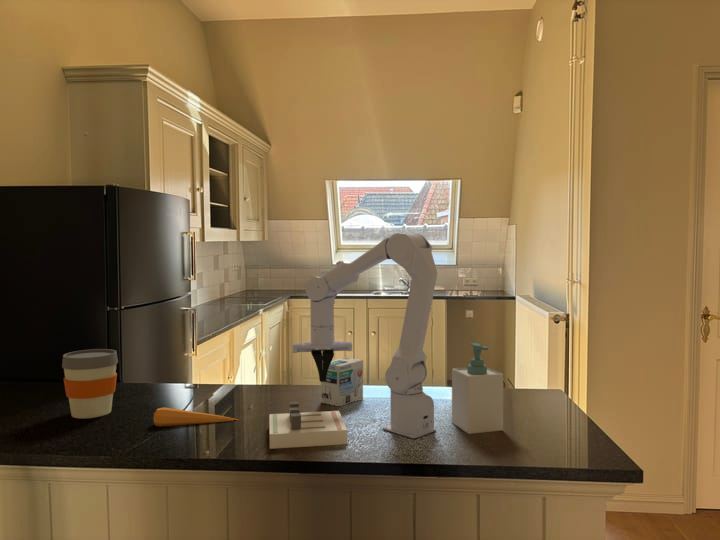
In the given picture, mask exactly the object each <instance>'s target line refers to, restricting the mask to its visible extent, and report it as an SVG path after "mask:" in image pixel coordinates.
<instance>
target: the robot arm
mask: <svg viewBox="0 0 720 540" xmlns="http://www.w3.org/2000/svg"><path fill="white" fill-rule="evenodd" d="M432 250H433V246H432V244H431V243H430V242H429V241H428V239H427V238H426V237H425V236H423V235H422V234H420V233H403V232H397V233H394V234H392V235H391V236H390V237H385V238H384V239H383V240H381V241H380V242H379V243H378V244H376V245H374V247H372V248H371V249H369V250H367V251H366V252H365V253H363V254H361V256H358V257H357V258H355V260H353V261H350V260H339V261H337V262H336V263H335V264H336V266H334V267H332V268H331V269H329V270H324V271H323V272H321V274H322V275H321V276H312V277H310V279H308V281H307V282H306V285H305V294H306V297H308V299H309V300H310V303H309V304H310V308H309V310H310V312H309V313H310V342H302V343H301V342H300V343H299V342H298V343H292V346H291V347H292V353H293V354H297V353H311V356H312V358H313V360H314V363H315V366H316V368H317V374H318V379H319V382H320V383H321V382H326V376H327V372H328V369H329V366H330V363H331V361H332V360H334V359H333V358H334V356H335V352H344V351H345V352H346V351H348V352H352V351H353V343H352V342H351V341H347V342H346V341H335V303H336V302H335V300H336V298H337V296H338V294H339V293H340V292H341V291H344V290H345V289H346V288H348V287H350V286H352V285H353V284H355V283H357V282H358V281H359V277H360V274H362V273H364V272H365V271H367V270H370V269H372V268H373V267H375V266H377V265H379V264H380V263H382V262H384V261H386V260H392V261H393V262H395V263H396V264H398V266H400V267H402V268H403V269H404V270H405V272H406V273H407V275H408V276H409V277H410V279H411V281H410V285H409V293H408V297H407V303H406V307H405V313H404V319H403V325H402V329H401V335H400V338H399V339H400V340H399V347H398V348H397V350H396V352H395V353H394V354H393V356H392V359H391V362H390V365H389V366H388V368H387V369H386V372H385V375H384V379H385V382H386V385H387V387H388V388H389V389H390V424H387V425H383V426H382V427H381V429H382V430H385V431H387V432H391V433H395V434H397V435H400V436H404V437H407V438H410V439H417V438H420V437H423V436H426V435H428V434H431V433H434V432H436V431H437V428H436V427H435V404H434V399H433V398H432V397H431V396H430V395H428V394H426V393H425V392H424V389H423V388H424V387H423V382H425V380H426V379H427V376H428V370H427V364H426V363H427V362H426V361H427V355H426V353H425V352H424V346H425V341H426V335H427V329H428V325H429V320H430V314H431V311H432V310H431V309H432V305H433V299H434V294H435V288H436V284H437V278H438V270H437V266H436V263H435V260H434V257H433V253H432ZM322 363H323V370H322Z"/></svg>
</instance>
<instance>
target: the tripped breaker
mask: <svg viewBox="0 0 720 540" xmlns="http://www.w3.org/2000/svg"><path fill="white" fill-rule="evenodd" d="M289 413H290V422H291V414H293V413H300V406H299V407H294V408H290V411H289Z"/></svg>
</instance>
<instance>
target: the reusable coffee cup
mask: <svg viewBox="0 0 720 540" xmlns="http://www.w3.org/2000/svg"><path fill="white" fill-rule="evenodd" d="M118 363H119V359H118V353H117V350H115V349H107V348H94V349H93V348H92V349H83V350H76V351H70V352H67V353H64V354H63V355H62V363H61V368H62V369H63V373H64V377H63V384H64V390H65V395H66V396H65V397H66V398H68V402H69V409H70V413H71V414H70V415H71V417H72V418H75V419H93V418H99V417H103V416H106V415H108V414H110V413H111V412H112V407H113V397H114V393H115V392H116V386H117V377H118V373H117V372H116V370H117V364H118Z"/></svg>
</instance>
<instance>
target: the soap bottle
mask: <svg viewBox="0 0 720 540" xmlns="http://www.w3.org/2000/svg"><path fill="white" fill-rule="evenodd" d="M470 345H471V346H472V347H473V348H472V353H473V355H474V357H472V358H471V359H470V363H469V364H467V366H466V367H465V366H464V367H453V368H452V369H451V370H452V371H451V381H452V382H451V422H452V424H453V425H455V426H457V427H458V428H459V429H461V430H462V431H464V432H465V433H466V434H467V435H472V434H473V435H474V434H483V433H491V432H500V431H501V432H502V431H504V373H503V372H500V371H497V370H495V369H492V368H490V367H488V366H487V364H485V360H484V359H483V358H481V355H482V351H483V350H484V351H488V349H489V347H488V346H487V345H483V344H480V343H478V342H470Z"/></svg>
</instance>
